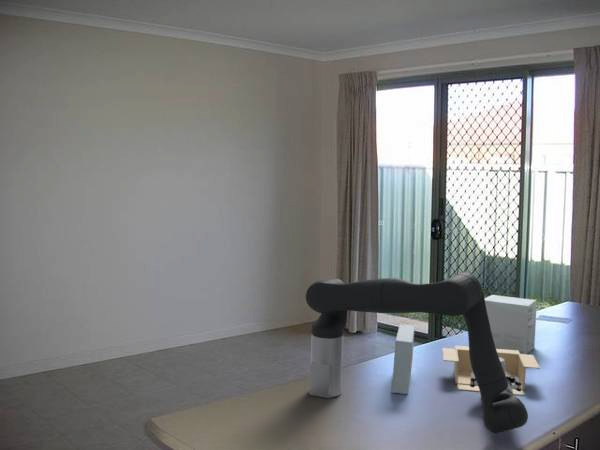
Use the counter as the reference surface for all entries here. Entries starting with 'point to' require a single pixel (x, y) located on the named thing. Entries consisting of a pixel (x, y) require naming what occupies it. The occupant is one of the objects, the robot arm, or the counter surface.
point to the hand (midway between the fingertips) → (492, 373)
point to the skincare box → (403, 359)
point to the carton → (512, 358)
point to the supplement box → (512, 322)
